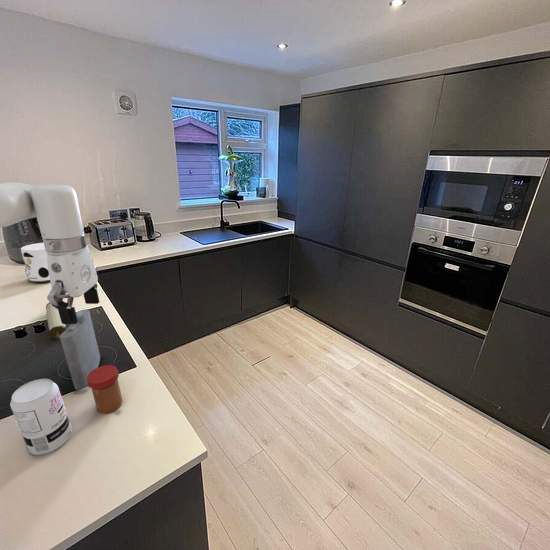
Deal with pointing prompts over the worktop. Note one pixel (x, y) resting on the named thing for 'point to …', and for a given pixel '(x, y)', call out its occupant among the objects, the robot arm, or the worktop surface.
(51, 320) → the rolling pin
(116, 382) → the jam jar
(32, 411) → the supplement can
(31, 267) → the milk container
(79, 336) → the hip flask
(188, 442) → the worktop surface
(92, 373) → the jam lid
